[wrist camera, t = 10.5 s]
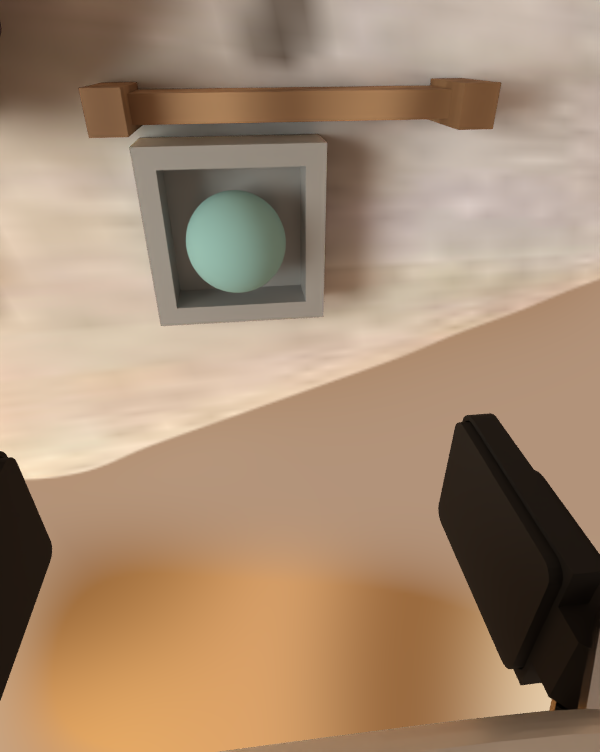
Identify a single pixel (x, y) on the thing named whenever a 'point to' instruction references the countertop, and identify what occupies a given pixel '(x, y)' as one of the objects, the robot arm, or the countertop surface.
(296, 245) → the dish
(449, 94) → the rail
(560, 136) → the countertop surface
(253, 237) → the ball
